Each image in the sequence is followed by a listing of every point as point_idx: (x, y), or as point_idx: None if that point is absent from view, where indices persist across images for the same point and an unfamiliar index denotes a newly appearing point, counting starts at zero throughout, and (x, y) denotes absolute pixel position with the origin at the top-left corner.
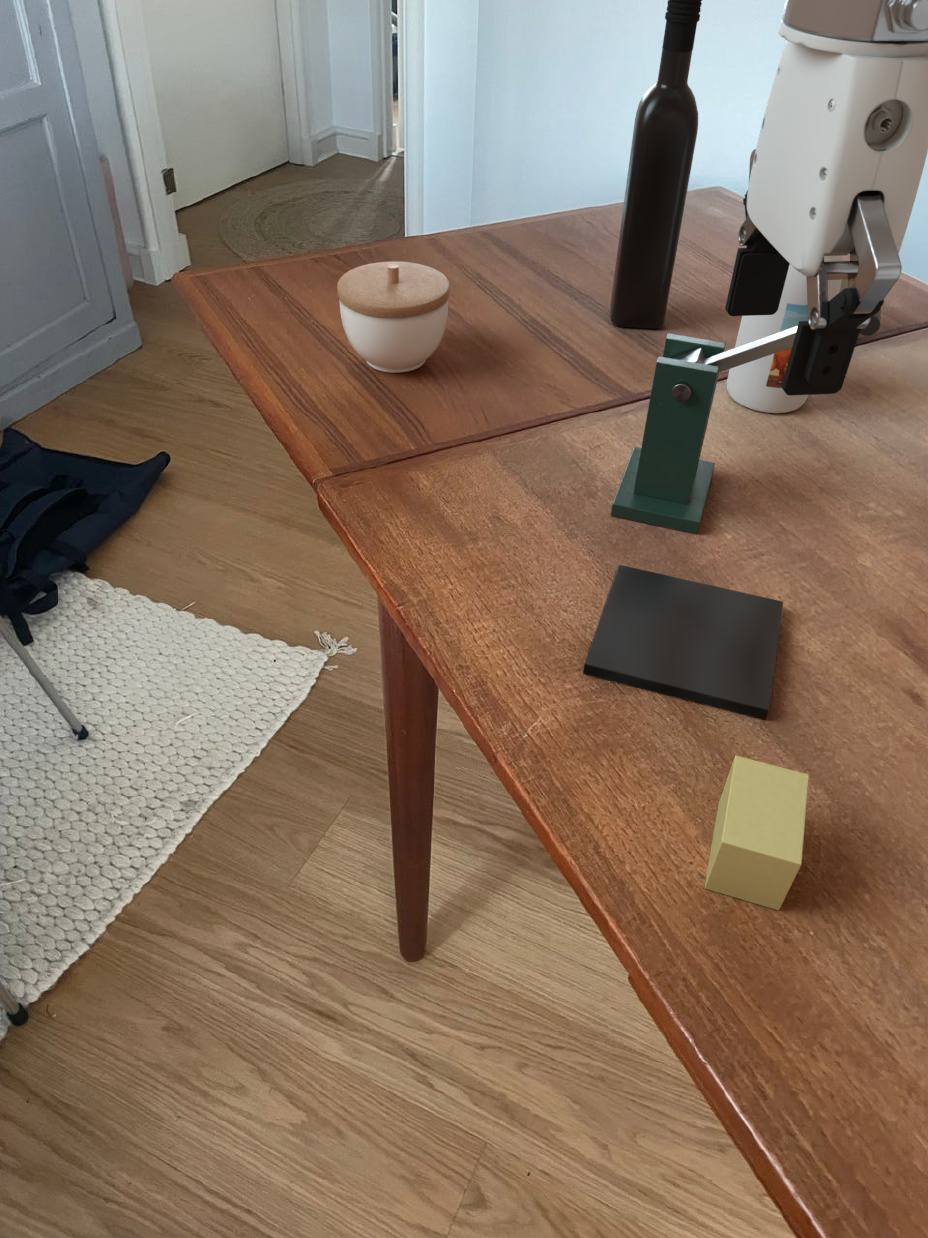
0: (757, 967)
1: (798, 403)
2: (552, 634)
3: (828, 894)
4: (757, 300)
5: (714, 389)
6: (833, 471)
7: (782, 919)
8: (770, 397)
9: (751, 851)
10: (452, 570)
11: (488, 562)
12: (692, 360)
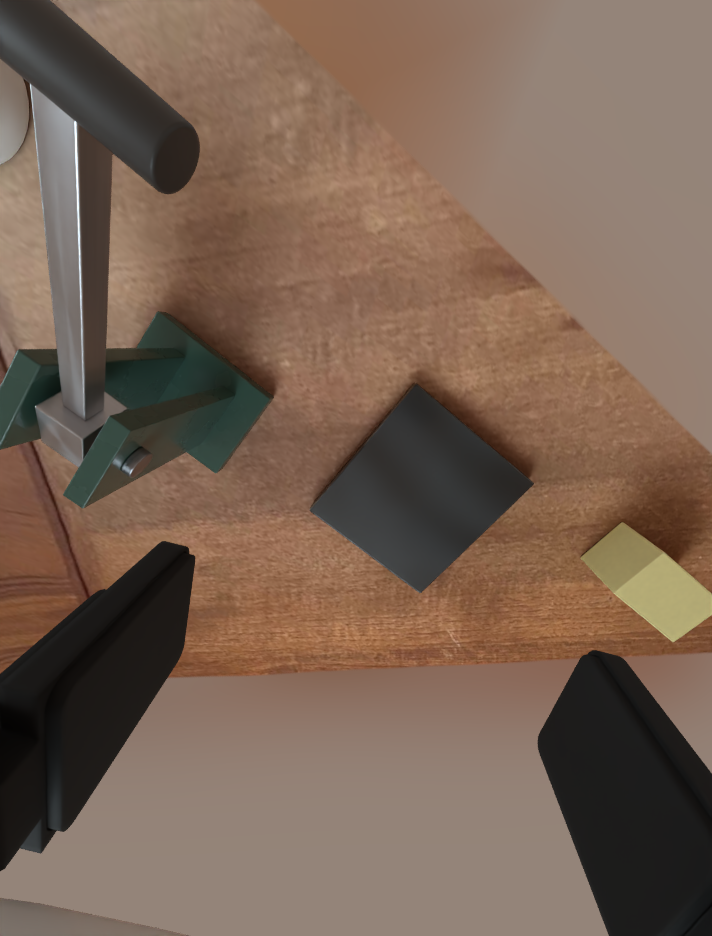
0: None
1: None
2: (367, 587)
3: (685, 530)
4: (168, 630)
5: None
6: None
7: None
8: (4, 121)
9: (692, 628)
10: (265, 626)
11: (263, 598)
12: (76, 440)
